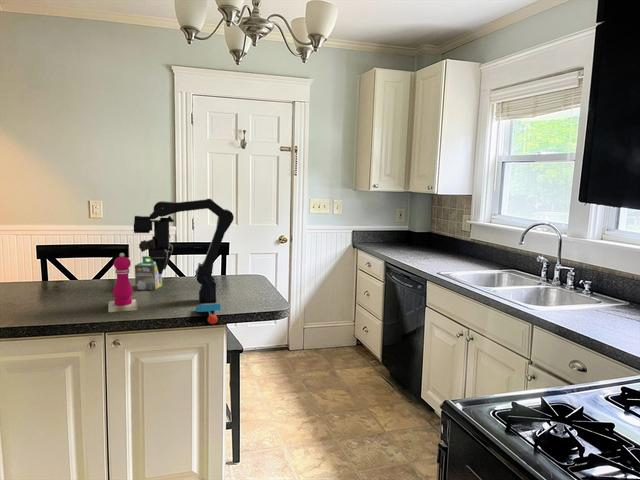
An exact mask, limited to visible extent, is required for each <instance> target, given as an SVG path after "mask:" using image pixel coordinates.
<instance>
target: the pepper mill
mask: <svg viewBox="0 0 640 480" xmlns="http://www.w3.org/2000/svg"><path fill="white" fill-rule="evenodd" d="M113 267H114V269H115V272H114V273H115V274H116V281H115V285H114V287H113V289H112V296H113V297H114V300H113V301H114V304H115V305H118V306H124V305H129V304H131V303H132V300H133V298H132V296H133V294H134V290H133V286H132V285H131V282H130V280H129V273H130V267H131V260H130V258H128V257H126V256H125V253H124V252H120V253H119V256H118V257H116V258H115V259H114V261H113Z"/></svg>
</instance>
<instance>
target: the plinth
mask: <svg viewBox="0 0 640 480" xmlns="http://www.w3.org/2000/svg"><path fill="white" fill-rule="evenodd" d="M107 305H108V309H107V310H108V313H118V312H128V311H129V312H130V311H138V303H137V299H132V303H131V304H129V305H124V306H118V305H115V304H114V300H110V301H108V304H107Z"/></svg>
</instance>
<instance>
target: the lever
mask: <svg viewBox="0 0 640 480" xmlns="http://www.w3.org/2000/svg"><path fill="white" fill-rule="evenodd" d="M221 307H222V306H221V303H211V304H199V305H195V312H197V313H203V312H205V313H206V312H208V316H207V322H208V324H211V325H215V324H216V323H217V322H218V317H217V315H216V314H212V312H215V311H221Z"/></svg>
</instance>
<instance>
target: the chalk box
mask: <svg viewBox="0 0 640 480" xmlns="http://www.w3.org/2000/svg"><path fill="white" fill-rule="evenodd" d="M147 259H148V260H150V261H147ZM162 274H163V273H162ZM162 274H159V272H158V269H157V265H156V262H155V261H154V260H153V259H151V257H150V255H148V256H145V255H143V256H142V261H141V262H138V263H137V264H134V279H135V290H136V291H138V290H139V291H143V290H144V291H156V290H158V289H159V288H161V287H163V275H162Z"/></svg>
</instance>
